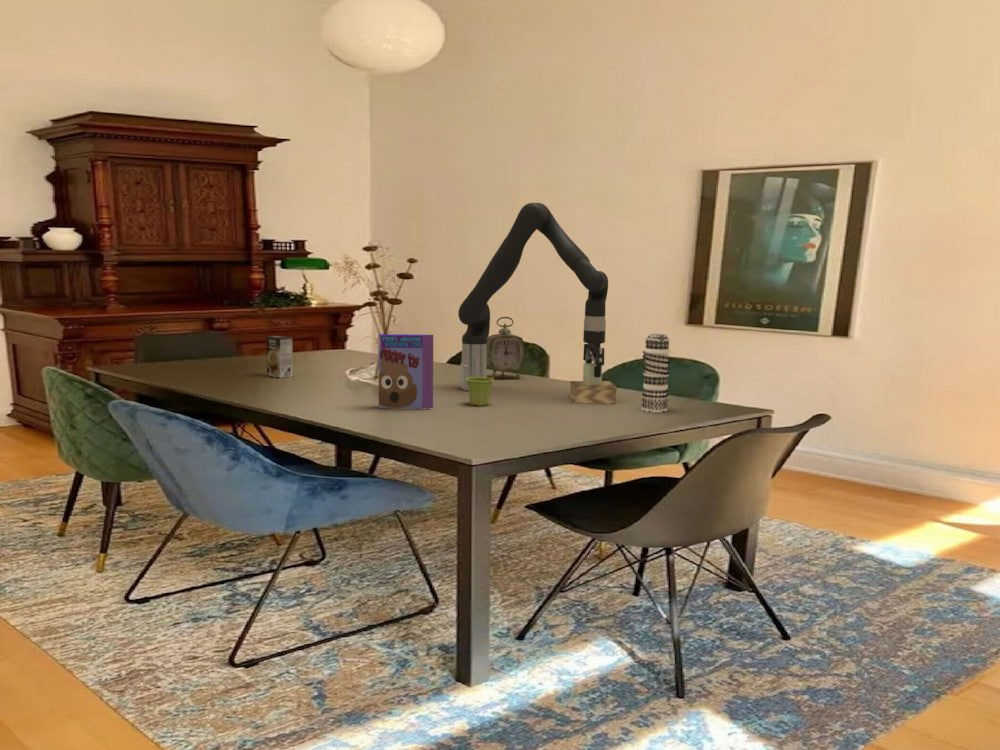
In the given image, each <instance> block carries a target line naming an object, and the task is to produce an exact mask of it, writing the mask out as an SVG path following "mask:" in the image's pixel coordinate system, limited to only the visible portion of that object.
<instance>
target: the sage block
mask: <svg viewBox="0 0 1000 750" xmlns="http://www.w3.org/2000/svg"><path fill="white" fill-rule="evenodd" d="M594 367H595V366H594V362H592V363H583V366H582V368H583V369H582V372H583V373H582V381H583V383H584V384H586V385H602V381H603V365H602V366H601V377H594Z"/></svg>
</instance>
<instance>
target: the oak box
mask: <svg viewBox="0 0 1000 750" xmlns="http://www.w3.org/2000/svg"><path fill="white" fill-rule="evenodd" d="M569 384H570V387H569V389H570V390H569V391H570V393H569V397H570V396H571V397H570V399H571V398H572V399H573V400H572V399H571V400H572V402H575V403H597V405H599V404H598V403H606V404H605V405H612V404H611V403H616V404H617V391H618V387H617V386H616V385H615V384H614V383H613V382H611V381H610V380H609V381H607V380H605V381H604V380H602V385H586V384H584V383H583V380H570V381H569ZM575 403H574V404H575ZM609 403H610V404H609Z"/></svg>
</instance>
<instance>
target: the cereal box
mask: <svg viewBox="0 0 1000 750" xmlns="http://www.w3.org/2000/svg"><path fill="white" fill-rule="evenodd" d="M379 408H416V409H415V410H419V409H418V408H433V409H434V334H405V333H404V334H399V333H398V334H393V333H392V334H391V333H390V334H389V333H387V334H379V333H378V409H379Z"/></svg>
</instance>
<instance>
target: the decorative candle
mask: <svg viewBox="0 0 1000 750" xmlns="http://www.w3.org/2000/svg"><path fill="white" fill-rule="evenodd" d="M670 341H671V339H670V338H669V337H668V335H666V334H662V333H651V334H649V335H647V338H645V347H644V350H643V351H642V354H643V355H642V358H643V359H644V360H643V362H642V365H643V366H642V369H643V370H644V371H643V372H642V375H643V386H642V387H643V388H641V390H642V393H641V395H642V396H643V397H642V398H641V402H642V403H641V406H642V407H641V410H642V411H643V410H645V411H644V412H648V411H651V412H650V413H663V412H662V411H666V412H668V411H667V410H668V407H669V404H668V402H669V399H668V398H667V397H669V394H668V392H669V388H668V386H669V384H668V377H669V376H670V374H671V373H670V372H669V371H670V370H671V368H670V367H669V365H670V364H671V363H672V362H671V361H670V360H672V358H671V356H669V354H670Z"/></svg>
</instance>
